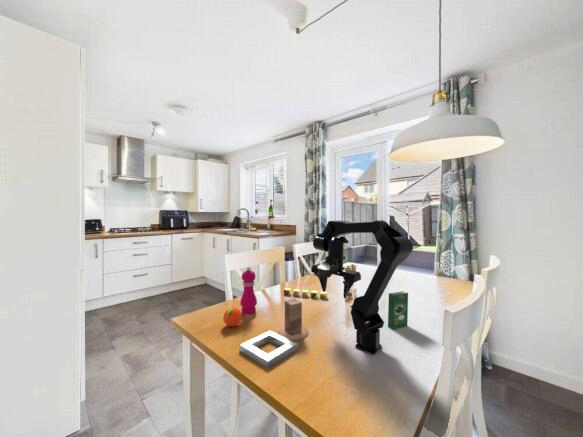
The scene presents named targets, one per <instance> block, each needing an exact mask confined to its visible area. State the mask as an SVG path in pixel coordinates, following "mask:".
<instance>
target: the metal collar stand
mask: <svg viewBox="0 0 583 437" xmlns="http://www.w3.org/2000/svg"><path fill="white" fill-rule="evenodd" d="M269 342H270V343H273V344H274V345H276V346H279V347H278V348H276V349H274V350H272V351H271V352H269V353H267V352H265V351H263V350H261V349H260V348H259V347H261V346H263V345H265V344H266V343H269ZM297 350H298V342H296V341H295V340H289V339H287V338H285V337H283V336H281V335H279V334H278V333H276V332H274V331H272V330H270V329H269V330H268V331H266V332H263V333H261V334H260V335H257V336H255V337H253V338H250V339H249V340H247V341H244V342H242V343H241V344H239V352H240V353H242V354H244V355H246V356H247V357H249V358H250V359H252V360H254V361H255V362H257V363H258V364H260V365H262V366H263V367H264V368H267V369H269V368H271V366H274V365H275V364H276V363H278V362H280V361H282V360H283V359H285V358H286V357H288V356H289V355H291V354H292V353H295V352H296V351H297Z"/></svg>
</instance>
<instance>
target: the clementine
mask: <svg viewBox="0 0 583 437" xmlns="http://www.w3.org/2000/svg"><path fill="white" fill-rule="evenodd" d="M242 315H243V314H242V313H241V311H240V309H239V308H238V307H229V308H228V309H226V310H225V311H224V314H223V322H224V324H225V325H226V326H228V327H231V328H232V327H236V326H238V324H240V322H241V320H242Z"/></svg>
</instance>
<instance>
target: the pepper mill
mask: <svg viewBox="0 0 583 437" xmlns="http://www.w3.org/2000/svg"><path fill="white" fill-rule="evenodd" d="M241 279H242V281H243V282H242V286H243V292H242V295H241V298H240V303H239V304H240V306H241V311H240V312H241V315H245V316H250V315H254V314H255V313H256V310H257V308H256V306H257V304H258V300H257V297H256V295H255V290H254V285H255V280H256V273H255V272H254V271H253V270H251V267H249V266H247V267H246V270H245V271H243V272H242V274H241Z"/></svg>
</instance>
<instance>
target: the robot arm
mask: <svg viewBox="0 0 583 437" xmlns="http://www.w3.org/2000/svg"><path fill="white" fill-rule="evenodd" d="M354 233H355V234H361V233H362V234H363V233H364V234H365V233H370V234H371V233H372V234H373V235H374V238H375V241H376V243H377V244H378V245H379V247H380V251H379V256H380V262H379V264H378V266H377V268H376V270H375V272H374V275H373V276H372V278H371V281H370V282H369V284H368V287H367V288H366V291H365V292H364V294H363V295H361V296H357V297H355V298H354V299H353V303H352V304H351V305H350V308H351V309H350V315H351V320H352V323H353V324H352V325H353V328H354V330H356V336H355V337H356V339H355V342H356V344H355V346H354V348H356V349H359V350H361V351H364V352H367V353H369V354H372V355H376V353H377V352H378V351H379V350H380V349H382V344H381V343H380V342H381V341H380V340H381V339H380V338H381V336H380V333H381V329H383V327H384V324H385V321H384V320H383V318H382V317H381V315H380V314H379V312H380V311H379V310H380V304H379V303H380V302H379V301H380V300H381V298H382V296H383V294H384V292H385V291H386V289H387V286H388V284H389V283H390V281H391V279H392V277H393V275H394V273H395V271H396V270H397V268H398V267H399V266H400V265H401V264H402V263H403V262H404V261H405V260H406V259H407V258H408V257H409V256H410V254H412V251H413V250H414V245H413V243H412V241H411V239H410V238H408V237H407V236H404V235H403V234H402V233H401V232H400V231H399V230H397V229H395V228H394V227H392V226H391V225H390V224H389V223H388V222H387V221H385V220H383V219H380V220H379V219H378V220H377V219H376V220H375V219H374V220H369V221H357V222H350V221H347V220H329V221H327V223H326V226H325V227H324V229H323V231H322V233H317V234H316V236H315V238H313V241H312V246H313V248H314V250H318V251H322V252H326V253H327V256H325V258H324V259H325V260H324V261H323V262H322V263H316V264H312V266H311V267H310V268H311V273H313V275H314V276H316V277H317V278H318V280H319V283H320V286H321V290H322V292H327V291H326V290H327V285H328V284H327V283H328V278H331V277H332V275H335V276H338V277H339V276H340V277H342V278H343V280H342V283H343V299H346V298H347V296H348V295H349V293H350V290H351V289H352V287H353V285H354V284H355V283H357V282H359V281H360V280H362V274H361V273H360V271H356V270H352V269H350V270H348V271H345V269H346V267H345V266H344V260H346V256H344V249H345V248H344V247H345V244H348V243H349V240H348V238H346V237H345V235H350V234H354Z"/></svg>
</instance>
